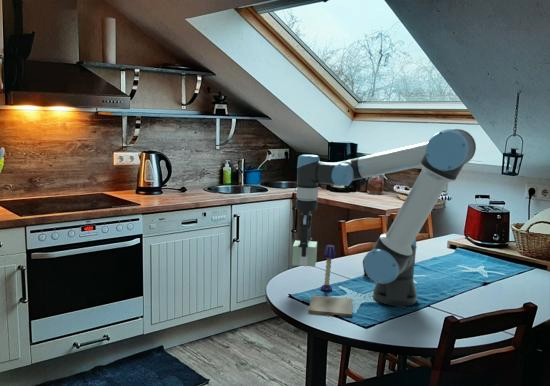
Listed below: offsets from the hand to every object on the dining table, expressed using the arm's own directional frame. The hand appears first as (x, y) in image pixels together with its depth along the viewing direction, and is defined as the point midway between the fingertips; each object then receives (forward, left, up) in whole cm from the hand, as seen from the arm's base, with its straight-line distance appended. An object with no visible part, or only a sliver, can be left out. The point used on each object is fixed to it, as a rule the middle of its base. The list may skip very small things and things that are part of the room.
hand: (304, 261), depth 195 cm
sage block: (0, 0, 0) cm, 0 cm away
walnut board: (-11, +13, -11) cm, 20 cm away
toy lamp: (-9, -4, -11) cm, 15 cm away
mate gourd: (-26, -26, -11) cm, 38 cm away
